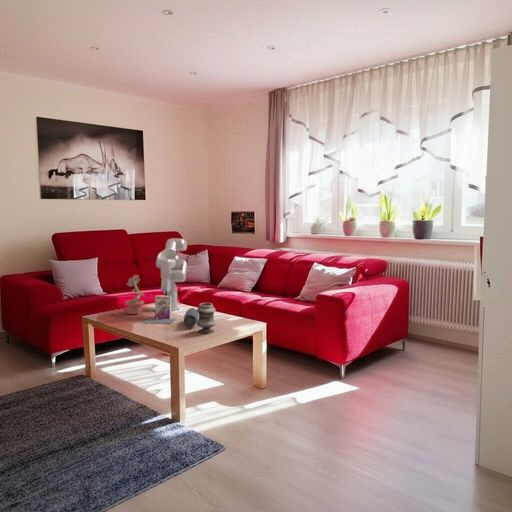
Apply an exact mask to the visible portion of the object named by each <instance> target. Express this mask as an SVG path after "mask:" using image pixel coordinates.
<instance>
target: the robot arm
mask: <svg viewBox="0 0 512 512" xmlns="http://www.w3.org/2000/svg"><path fill="white" fill-rule="evenodd" d="M187 244H188V243H187V241H186V240H185V239H184V238H176V237H175V238H174V237H173V238H169V239H167V240H166V243H165V248H164V249H163V250H162V251H160V253H158V255H157V256H156V262H155V265H156V267H157V269H160V278H161V283H160V284H161V285H160V291H161V292H163V296H172V310H173V311H177V310H176V309H178V310H180V307H179V306H178V287H177V284H176V283H175V282H177V283H178V282H179V283H180V282H185V281H186V278H187V271H188V270H187V269H188V263H187V261H186V260H185V259H180V257H179V255H178V254H177V252H184V251H186V250H187V248H188V245H187Z"/></svg>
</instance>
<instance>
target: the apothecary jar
mask: <svg viewBox="0 0 512 512" xmlns="http://www.w3.org/2000/svg"><path fill="white" fill-rule="evenodd" d="M196 310H197V312H198V320H197V322H196V325H197V326H198V327H200V329H199V330H198V333H200V334H212V333H214V329H213V327H214V326H215V325H216V320H215V318H214V317H215V316H214V313H215V312H216V308H215V307H214V305H213V303H211V302H202V303H199V305H198V307H197V308H196Z"/></svg>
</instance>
